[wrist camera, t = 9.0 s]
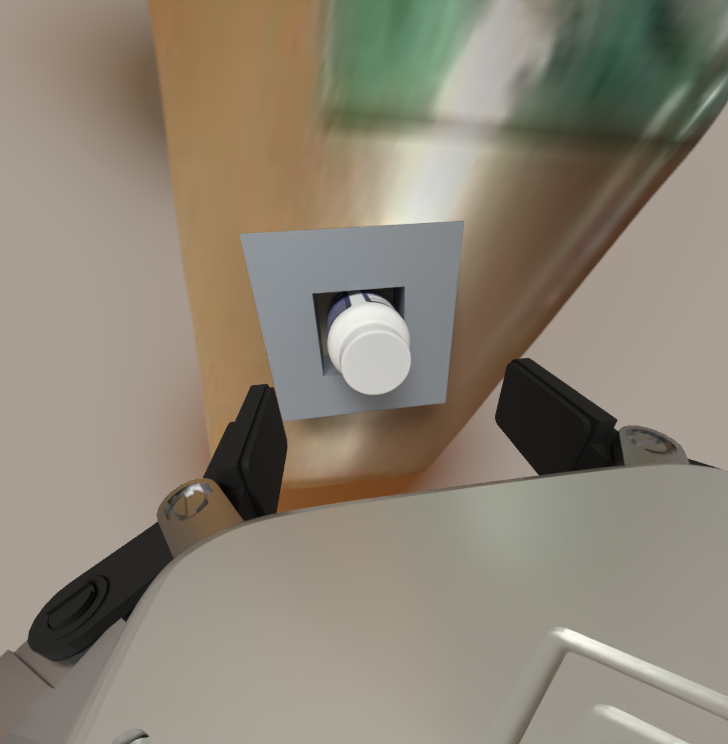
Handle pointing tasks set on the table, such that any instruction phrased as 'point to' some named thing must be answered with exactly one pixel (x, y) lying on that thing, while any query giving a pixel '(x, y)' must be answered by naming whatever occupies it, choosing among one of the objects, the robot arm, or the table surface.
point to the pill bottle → (368, 341)
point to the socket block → (345, 273)
